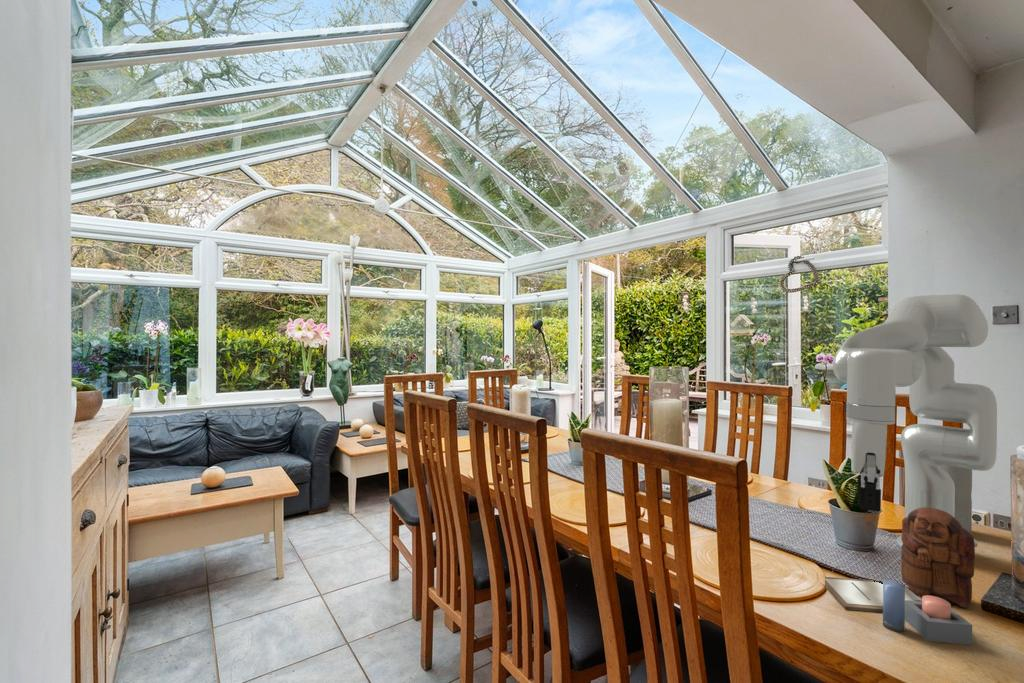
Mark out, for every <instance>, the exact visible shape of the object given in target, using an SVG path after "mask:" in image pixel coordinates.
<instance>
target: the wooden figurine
mask: <svg viewBox="0 0 1024 683" xmlns="http://www.w3.org/2000/svg"><path fill="white" fill-rule="evenodd" d="M901 523H902V524H901V527H902V528H901V535H900V536H901V538H902V542H903V545H902V548H901V547H900V548H901V553H900V554H901V556H900V562H901V563H900V564H901V566H900V567H901V568H900V569H901V571H900V572H901V581H903V582H904V583H905V584H906V585H908V586H909V587H910V591H911V592H913V593H914V594H915V595H916V596H918V597H919V598H920V597H921V598H922V597H923V596H925V595H929V596H935V597H939V598H942V599H944V600H946V601H948V602H949V603H950V604H953V605H957V606H958V607H961V608H963V609H968V608H970V606H971V604H972V596H973V583H972V582H973V581H972V578H974V575H975V559H976V547H975V544H974V539H975V538H974V536H973V534H972V532H971V533H970V532H969V531H967V530H966V529H964V528H963V527H962V526H961V524H960V523H959V522H958V520H956V519H955V518H954V517H953V516H952V515H950V514H949V513H947V512H945V511H942V510H939V509H935V508H928V507H923V508H918V509H915V510H913V511H911V512H910V513H909V514H908V517H905V516H904V518H903V519H902V521H901ZM903 582H902V583H903Z"/></svg>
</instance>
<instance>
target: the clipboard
mask: <svg viewBox="0 0 1024 683" xmlns="http://www.w3.org/2000/svg"><path fill="white" fill-rule="evenodd" d="M824 577H825V586H826V588H825V589H826V590H827V591H828V593H830V594H831V596H832V598H834V599H835V600H836V601H837V602H838V603H839V605H840V606H841V607H842V608H843V609H844V610H850V611H862V612H875V613H883V584H881V583H879V582H876V581H877V580H876V581H875V582H874V581H873V579H858V578H844V577H833V576H832V577H831V576H824ZM905 600H909V601H922V599H921V598H920V596H918V595H916V594H914V593H913V592H911V591H910V590H909V589H908V588H906V587H905Z"/></svg>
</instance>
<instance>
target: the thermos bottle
mask: <svg viewBox="0 0 1024 683" xmlns="http://www.w3.org/2000/svg"><path fill="white" fill-rule="evenodd" d="M941 466H942V467H943V468H944V469H945V470H946V471H947V473H948V474H949V475H950V476H951V478H952V480H953V482H954V485H955V512H954V518H955V519H956V520H958V522H959V523H960V524H961V526H962V527H963V528H964V529H966V530H967V531H969V532H970V533H971V534H972V529H973V528H972V526H973V524H972V522H973V521H972V517H973V516H972V515H973V513H972V512H973V511H972V510H973V504H972V503H973V502H972V501H973V500H972V491H973V470H971V469H964V468H958V467H952V466H943V465H941Z"/></svg>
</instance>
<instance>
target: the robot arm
mask: <svg viewBox="0 0 1024 683" xmlns="http://www.w3.org/2000/svg"><path fill="white" fill-rule="evenodd" d="M988 333H989V325H988V321H987V317H986V316H985V314H984V312H983V311H982V310H981V308H980V305H978V304H977V302H976V301H975V300H974V299H973V298H972V297H970V296H967V295H965V294H960V293H959V294H958V293H957V294H956V293H955V294H935V295H934V294H933V295H932V294H930V295H916V296H910V297H909V296H908V297H905V298H904V299H902V300H900V301H899V302H898V303H897V304H896V305H895V306H894V308H893V309H892V310H891V312H890V313H889V315H888V316H887V318H886V320H884V321H883V323H880V324H877V325H874V326H872V327H868V328H867V329H863V330H861V331H859V332H856V333H853V334H852V335H850V336H849V337H847V338H846V339H845V341H843V343H842V345H840V347H839V348H838V350H837V352H836V353H835V355H834V358H833V362H832V368H833V369H832V371H833V373H834V374H833V375H834V376H835V377H836V378H837V380H839V381H840V382H843V383H845V384H846V420H847V421H849V422H852V428H851V429H852V430H851V453H850V454H851V462H850V463H851V465H850V466H851V472H852V473H853V474H854V475H856V474H857V473H859V474H857V477H858V478H857V495H858V507H859V509H861V510H865V511H866V510H867V511H871V512H873V511H874V512H878V513H879V512H881V511H882V509H881V508H882V506H881V505H882V502H881V501H882V489H881V488H880V487H881V486H880V485H881V483H880V479H881V478H882V477H883V476H884V474H885V467H886V458H887V456H886V455H887V435H888V434H887V433H888V431H887V430H888V425H895V424H896V389H897V388H905V387H908V388H909V390H908V391H909V393H908V394H909V396H908V398H909V399H908V400H909V402H908V403H909V408H910V412H911V413H912V414H913V415H914V416H916V417H919V418H921V419H929V420H935V421H945V422H953V423H963V424H965V425H967V426H968V427H969V428H962V427H954V426H953V427H952V426H945V425H936V424H929V423H916V424H915V423H914V424H909V425H908V426H905V427H904V428H903V429H902V431H901V434H900V444H901V449H902V454H903V462H904V518H905V517H908V514H909V513H910V512H911V511H913V510H915V509H918V508H923V507H928V508H935V509H939V510H942V511H945V512H947V513H949V514H950V515H952V516H953V517H954V512H955V485H954V482H953V480H952V478H951V476H950V475H949V474H948V473H947V471H946V470H945V469H944V468H943V467H942V466H941V465H943V466H952V467H958V468H964V469H971V470H972V471H979V472H980V471H981V472H983V471H985V472H986V471H989V470H991V469H992V468H994V466H995V465H996V460H997V451H998V450H997V446H998V445H997V443H998V442H997V440H998V439H997V438H998V437H997V436H998V434H997V433H998V405H997V404H998V403H997V399H996V398H997V397H996V395H995V393H994V391H993V390H992V389H991V388H990V387H988V386H987V385H986V386H985V385H982V384H977V383H966V382H965V383H963V382H962V383H961V382H956V380H955V362H954V359H953V358H952V357H951V356H950V355H949V354H948V352H947V351H945V349H944V348H974V347H975V348H976V347H979V346H981V345H982V344H984V343H985V341H986V340H987V338H988V336H989V334H988ZM901 536H902V535H900V536H898V537H897V538H896V544H897V545H898V547H900V548H902V545H903V542H902V538H901ZM974 544H975V548H977V547H978V542H977V540H976V539H975V538H974Z"/></svg>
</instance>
